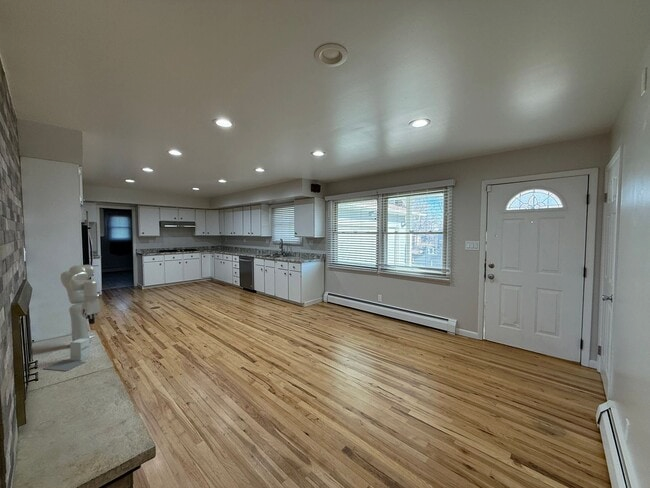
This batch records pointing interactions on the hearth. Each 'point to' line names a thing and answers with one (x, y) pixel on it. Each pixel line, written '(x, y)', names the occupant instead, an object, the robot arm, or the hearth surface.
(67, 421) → the hearth surface
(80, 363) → the mat
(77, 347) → the supplement box
